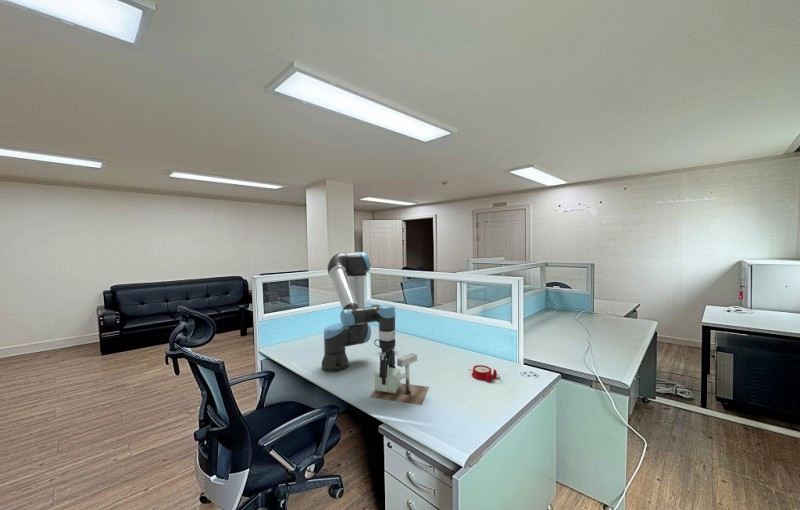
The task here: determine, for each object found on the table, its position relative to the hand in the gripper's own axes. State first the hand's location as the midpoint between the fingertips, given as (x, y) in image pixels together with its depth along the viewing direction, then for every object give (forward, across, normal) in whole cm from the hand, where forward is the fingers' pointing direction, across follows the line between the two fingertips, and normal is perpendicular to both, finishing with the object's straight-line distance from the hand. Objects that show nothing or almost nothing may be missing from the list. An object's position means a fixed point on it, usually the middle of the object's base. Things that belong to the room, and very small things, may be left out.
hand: (387, 386), depth 142 cm
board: (+3, 0, -6) cm, 7 cm away
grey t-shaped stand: (+1, -1, -9) cm, 9 cm away
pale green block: (+1, 0, 0) cm, 1 cm away
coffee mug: (+4, +48, +19) cm, 52 cm away
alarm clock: (+3, +28, -43) cm, 52 cm away
